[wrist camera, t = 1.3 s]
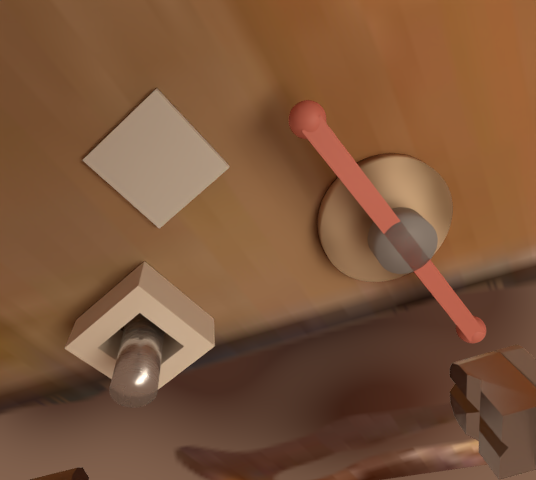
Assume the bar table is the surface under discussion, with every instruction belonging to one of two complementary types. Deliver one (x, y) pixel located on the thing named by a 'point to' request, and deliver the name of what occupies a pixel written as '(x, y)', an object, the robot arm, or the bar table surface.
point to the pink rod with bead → (386, 221)
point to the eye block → (153, 308)
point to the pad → (156, 159)
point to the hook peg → (137, 363)
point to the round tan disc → (396, 195)
